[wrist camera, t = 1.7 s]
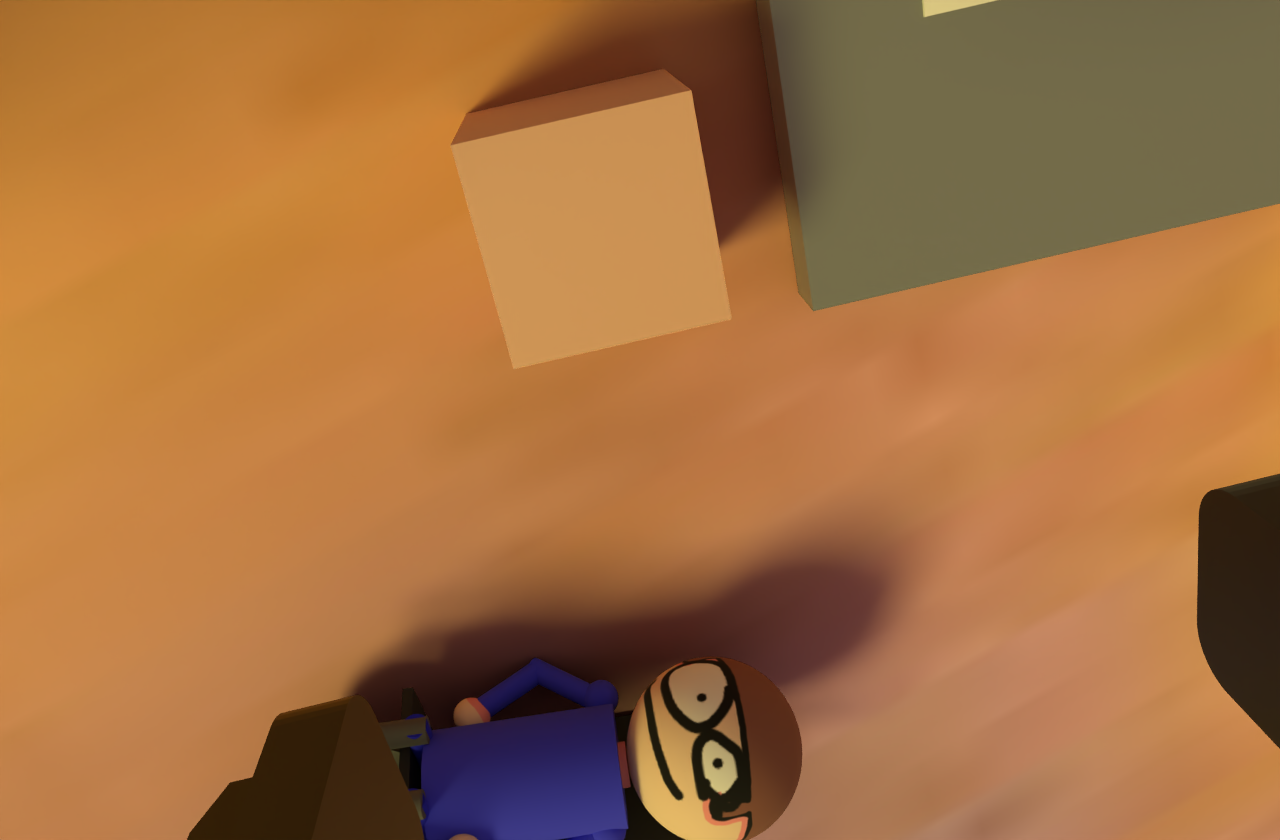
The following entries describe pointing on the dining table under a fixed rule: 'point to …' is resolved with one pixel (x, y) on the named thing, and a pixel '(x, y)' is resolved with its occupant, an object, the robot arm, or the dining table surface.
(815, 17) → the base plate
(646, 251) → the terracotta block
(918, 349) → the dining table surface
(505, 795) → the character figurine
